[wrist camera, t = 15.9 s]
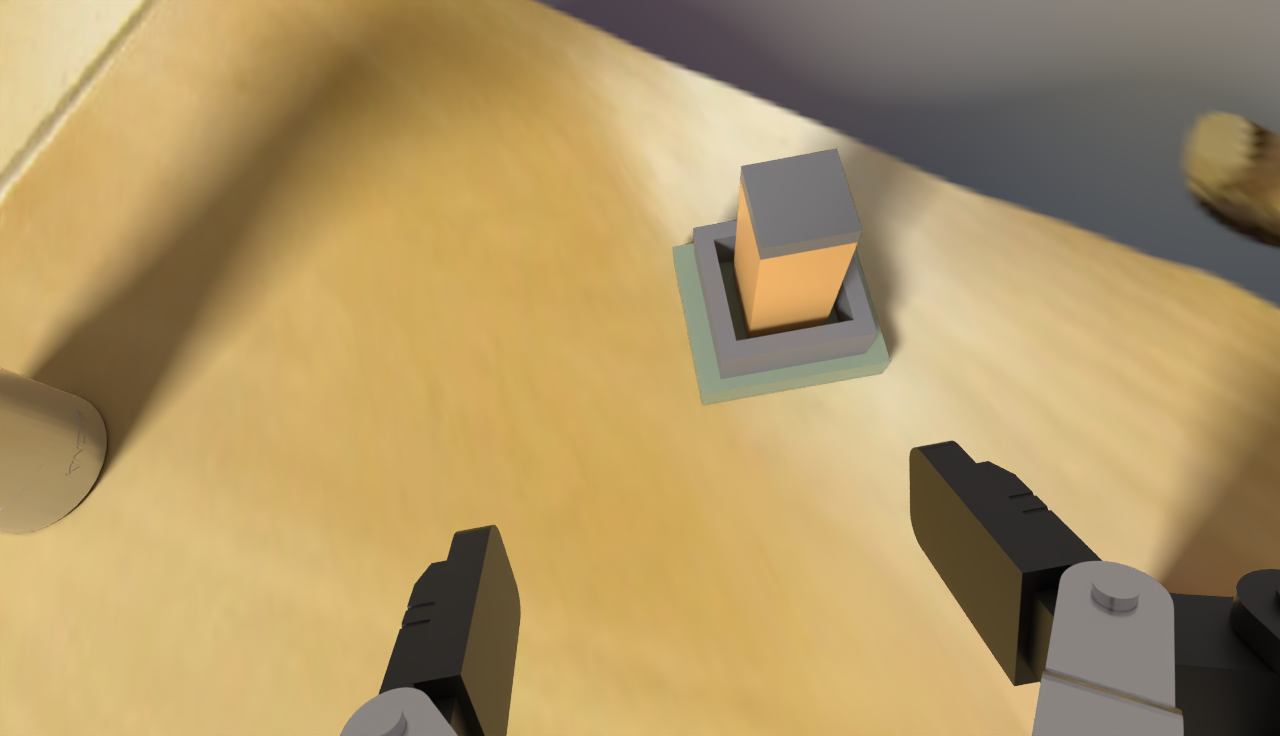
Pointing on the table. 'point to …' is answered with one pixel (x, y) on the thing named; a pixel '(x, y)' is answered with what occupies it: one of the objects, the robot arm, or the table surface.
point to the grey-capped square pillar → (792, 241)
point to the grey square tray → (774, 359)
